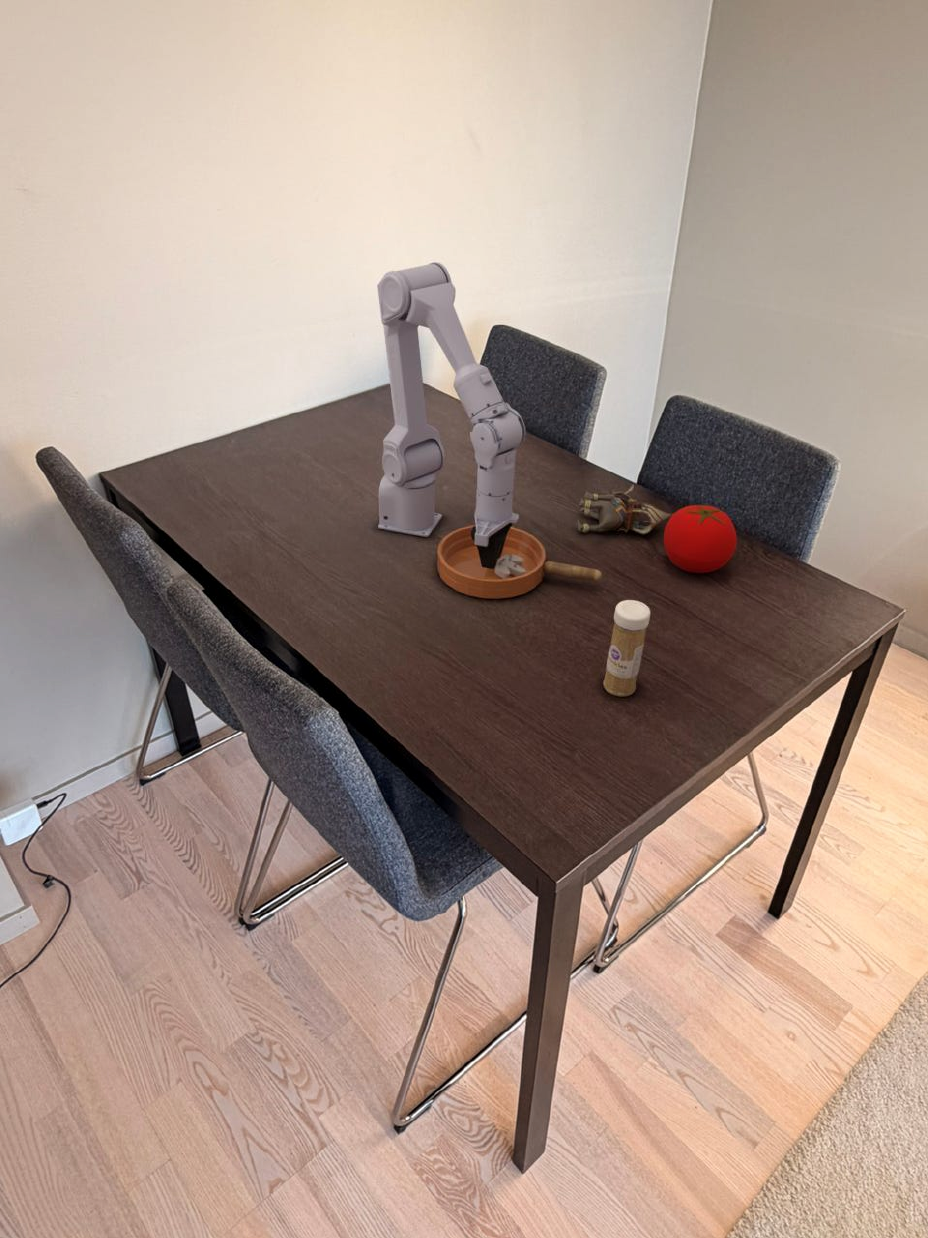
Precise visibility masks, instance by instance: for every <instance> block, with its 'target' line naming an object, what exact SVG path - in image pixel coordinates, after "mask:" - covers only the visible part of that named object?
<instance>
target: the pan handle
mask: <svg viewBox="0 0 928 1238" xmlns="http://www.w3.org/2000/svg"><path fill="white" fill-rule="evenodd" d="M543 570H544V573H546V574H549V575H556V576H560V577H567V578H572V579H578V580H583V581H587V582H593V583H598V582H601V580H602V579H603V573H602V571H601V570H599V569H598V568H597V569H596V568H591V567H585V566H579V565H574V564H568V563H563V562H558V561H552V560H547V561H545V563H544V566H543Z"/></svg>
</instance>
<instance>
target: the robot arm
mask: <svg viewBox="0 0 928 1238" xmlns="http://www.w3.org/2000/svg"><path fill="white" fill-rule="evenodd" d="M376 287H377V295H378V304H379V312H380V322H381V324H382V325H383V336H384V344H385V351H386V352H385V353H386V360H387V369H388V376H389V377H388V378H389V385H390V394H391V402H392V411H393V418H394V426H393V427H392V428H391V429H390V431H389V432H388V434H387V435H386V436H385V437H384V438H383V440H382V445H383V451H382V457H381V467H382V470H383V473H384V475H383V476H382V478H381V480H380V483H379V487H378V520H379V524H378V526H377V528H378V529H380V530H384V531H391V532H396V533H402V534H407V535H412V536H418V537H422V538H429V537H430V535H432V532H433V531H434V530H435V528H436V526H437V525H438V524H439V522H440V520H441V519H442V517H443V515H442V513H437V512H435V495H436V494H435V492H436V488H435V487H436V485H435V484H436V478H438V477H439V471H441V470H442V469H443V468H444V466H445V462H446V452H445V448H444V447H443V445H442V442H441V437H440V431H439V430H438V429H437V428H435V427H434V426H432V425H430V424H429V423H428V420H427V419H428V417H427V408H426V399H425V389H424V378H423V368H422V359H421V350H420V349H421V348H420V337H419V326H420V327H423V328H427V329H429V330H430V332H431V334H432V335H433V337H434V339H435V341H436V342H437V344H438V346H439V347H440V349H441V351H442V352H443V354H444V356H445V358H446V359H447V362H448V363H449V364H450V366H451V368H452V369H453V371H454V373H455V376H454V380H453V388H454V390H455V393H456V395H457V396H458V398H459V400H460V402H461V405H462V407H463V408H464V411H465V412H466V415H467V417H468V419H469V421H470V423H471V425H472V427H473V428H472V431H469V437H470V441H471V444H472V447H473V449H474V460H475V463H476V464H477V469H476V470H477V471H476V478H477V479H476V495H475V496H476V497H475V510H474V512H473V513H474V516H473V517H474V525H476V526H473V528H472V530H471V538H472V539H473V541H474V542H475V545H476V546H477V549H478V552H479V557H480V561H481V565H482V567H484V568H489V569H494V568H495V566H496V563H497V559H499V558H500V556H501V554H502V551H503V547H504V543H505V540H506V536H507V534H508V531H509V529H510V528H511V527H513V525H514V524H517V523H518V521H519V520H520V514H519V513H514V511H513V502H514V501H513V500H514V489H515V474H516V473H515V472H516V471H515V469H516V457H517V447H519V446H520V445H522V444H523V443H524V441H525V438H526V426H525V423H524V420H523V417H522V416H521V414H520V413H519V412H518V411H517V410H516V409H513V408H512V407H511V405H510V403H508V402H505V401H504V399H503V397H502V395H501V393H500V391H499V389H498V387H497V385H496V383H495V381H494V378H493V377H492V375H491V372H490V370H489V368H488V367H487V366H485V365H482V364H480V363H478V362H477V361H476V358H475V356H474V353H473V350H472V347H471V346H470V343H469V340H468V338H467V336H466V335H467V334H466V333H465V331H464V327H463V326H462V323H461V320H460V318H459V315H458V313H457V311H456V308H455V305H454V303H455V300H456V293H457V291H456V287H455V285H454V284H453V282H452V278H451V275H450V273H449V271H448V269H447V268H446V267H445V266H444V264H442V263H441V262H437V261H434V262H430V263H429V264H424V265H419V266H414V267H409V268H405V269H400V270H399V269H398V270H390V271H387V272H386V273H384V275H383V276H382V277H381V279H380V281H379V282H378V284H377V286H376Z"/></svg>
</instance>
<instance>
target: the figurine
mask: <svg viewBox="0 0 928 1238" xmlns="http://www.w3.org/2000/svg"><path fill="white" fill-rule="evenodd" d="M634 488H635V487H634V484H631V486H630V487H629V489H628V490H627V491H625V492H624V491H615V490H613V489H610V490H608V491H607V492H606V494H603V495H601V494H600V495H598V494H597V493H593V494H592V493H589V492H587V491H585V494H584V496H583V498H585V499H582V498H580V501H579V508H580V510H579V512H581V513H583V515H584V516H587V517H589V518H591V519H594V520H597V521H599V522H598V524H594V525H589V524H588V523H581V522H580V520H579V519H577V521H576V528H577V529H578V531H582V532H583V533H588V532H596V533H605V532H608V531H615V530H616V529H617V528H619V529H618V530H617V532H619V531H624V532H625V534H626V533H627V532H628V531H629V530H630V531H632V532H635V533H637V534H639V535H647V534H650V532H652V531H653V530H654V528H656V527H658V526H659V525H660V524H661V523H662V522H665V521H666V520H669V519H670V518H671V516H672V515H673V514H674V513H675V512H674V513H671V512H667V511H664V510H663V509H661V508H659V507H658V506H656V505H654V504H651V503H647V502H641V501H637V499H635V498H632V497H631V496H630V495H629V494H630V493H632V492H633V490H634ZM591 510H598V512H597V513H596V512H593V511H591ZM639 514H644V515H646V516H647V517H648V519H649V520H648V521H647V520H645V521H644V520H643V523H645V522H646V523H647V522H648V523H650V524H648V525H643V524H642V523H641V520H638V519H637V518H638V517H639ZM640 523H641V524H640Z"/></svg>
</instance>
